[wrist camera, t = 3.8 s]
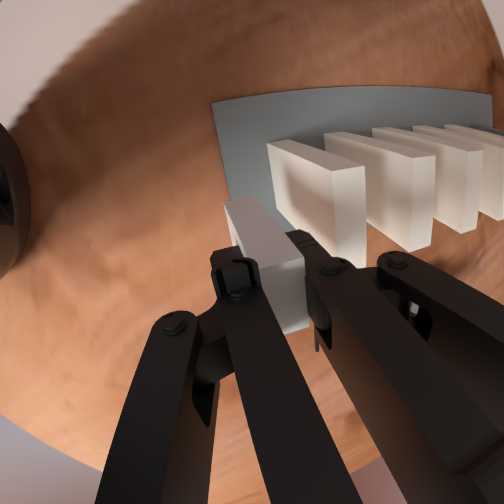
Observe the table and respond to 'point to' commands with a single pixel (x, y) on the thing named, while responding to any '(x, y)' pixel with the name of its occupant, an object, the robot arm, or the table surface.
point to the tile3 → (447, 175)
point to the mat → (326, 125)
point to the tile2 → (392, 186)
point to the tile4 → (493, 168)
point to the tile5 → (476, 133)
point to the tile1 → (321, 197)
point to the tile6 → (487, 129)
